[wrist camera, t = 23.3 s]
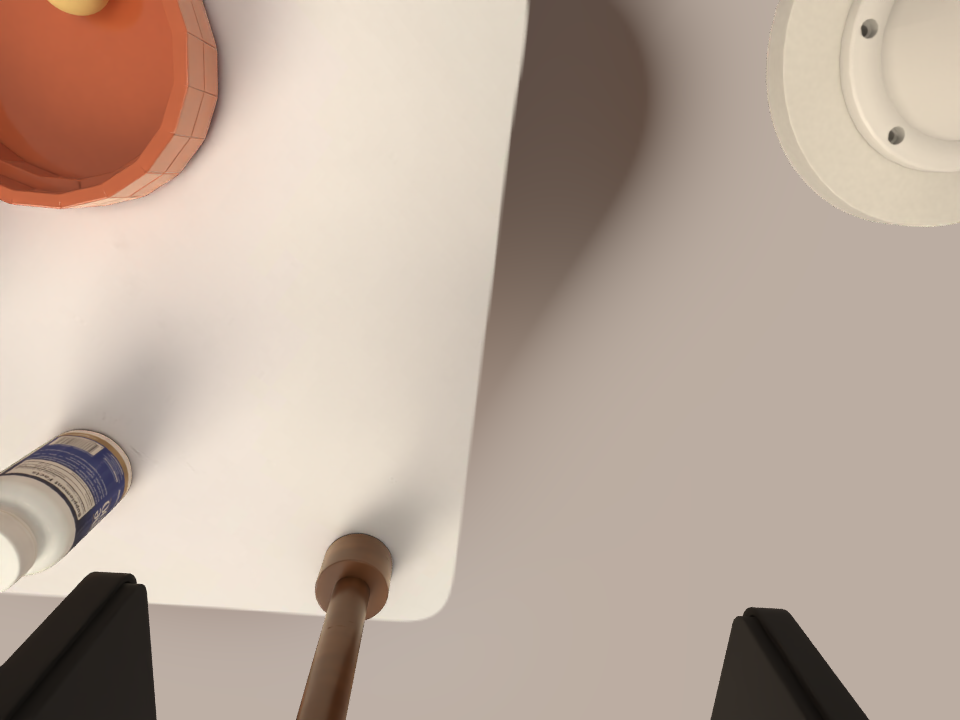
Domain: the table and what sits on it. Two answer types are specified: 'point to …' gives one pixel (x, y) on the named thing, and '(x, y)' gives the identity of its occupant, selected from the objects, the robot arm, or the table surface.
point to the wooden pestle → (344, 620)
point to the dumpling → (79, 6)
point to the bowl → (101, 99)
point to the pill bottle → (57, 500)
